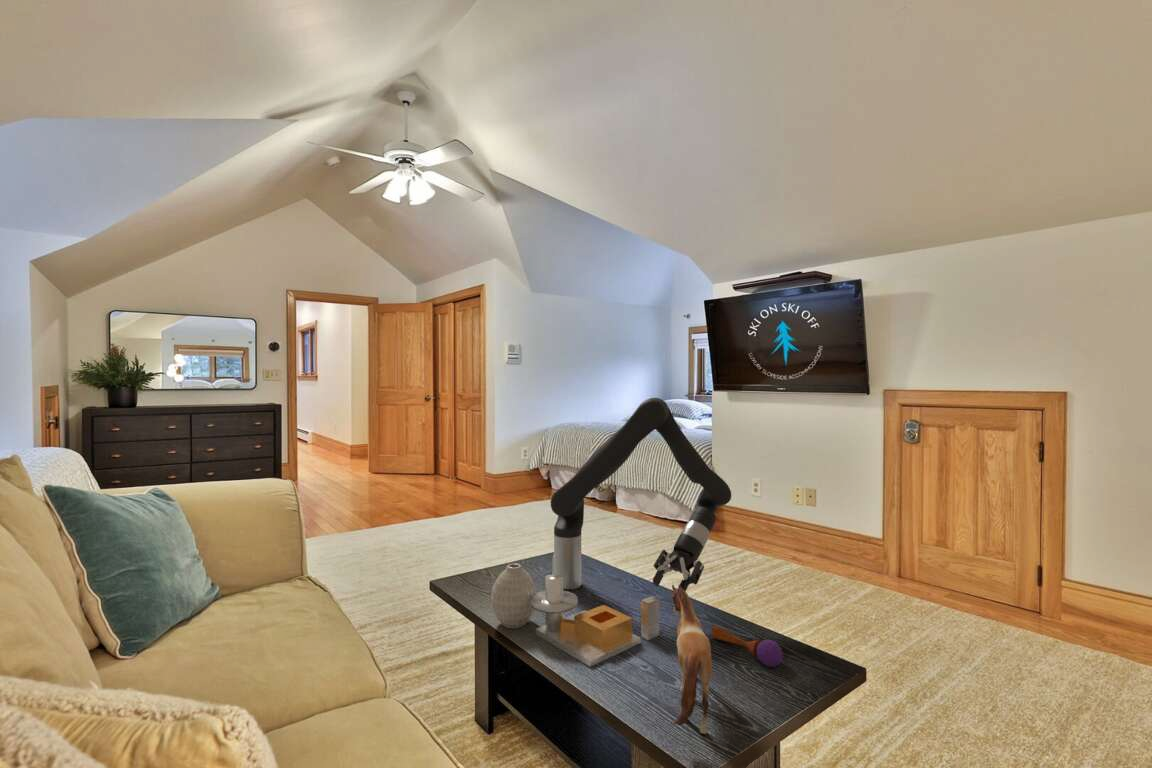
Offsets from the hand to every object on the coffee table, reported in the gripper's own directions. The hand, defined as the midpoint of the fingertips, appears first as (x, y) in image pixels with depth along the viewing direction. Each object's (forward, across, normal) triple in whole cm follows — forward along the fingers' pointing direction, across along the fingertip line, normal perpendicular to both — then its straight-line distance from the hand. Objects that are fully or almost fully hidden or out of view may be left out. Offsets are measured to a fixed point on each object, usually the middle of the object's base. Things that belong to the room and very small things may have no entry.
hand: (666, 589), depth 152 cm
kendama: (+5, +22, +12) cm, 25 cm away
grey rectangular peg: (+13, 0, +3) cm, 13 cm away
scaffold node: (+23, -12, -8) cm, 27 cm away
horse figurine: (+26, +24, -10) cm, 37 cm away
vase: (+30, -30, -14) cm, 45 cm away
